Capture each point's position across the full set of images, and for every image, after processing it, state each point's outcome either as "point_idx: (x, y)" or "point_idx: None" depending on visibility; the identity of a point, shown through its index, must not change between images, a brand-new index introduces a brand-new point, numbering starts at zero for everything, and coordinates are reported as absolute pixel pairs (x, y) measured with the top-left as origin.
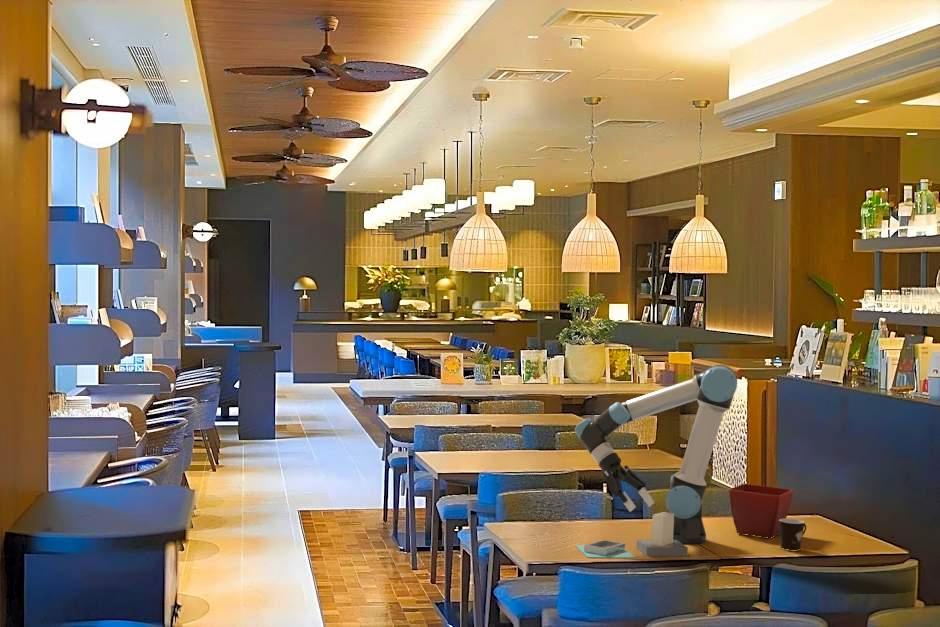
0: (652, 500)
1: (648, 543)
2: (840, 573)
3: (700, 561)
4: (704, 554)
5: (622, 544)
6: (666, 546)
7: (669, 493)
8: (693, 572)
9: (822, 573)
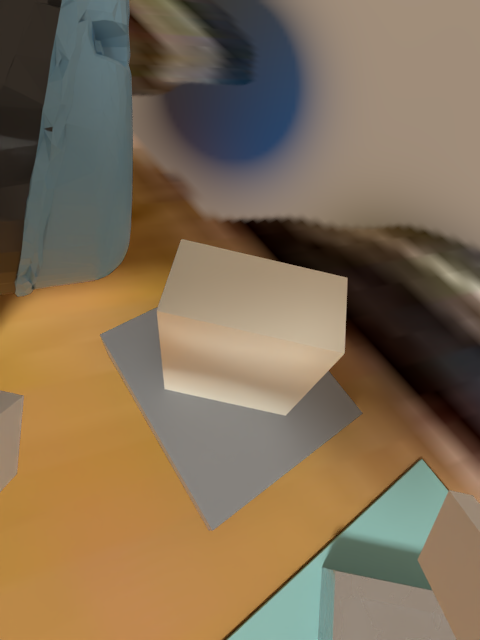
0: (3, 415)
1: (275, 434)
2: (196, 9)
3: (285, 240)
4: (163, 243)
5: (363, 577)
6: None
7: (117, 148)
8: (440, 237)
9: (219, 30)
